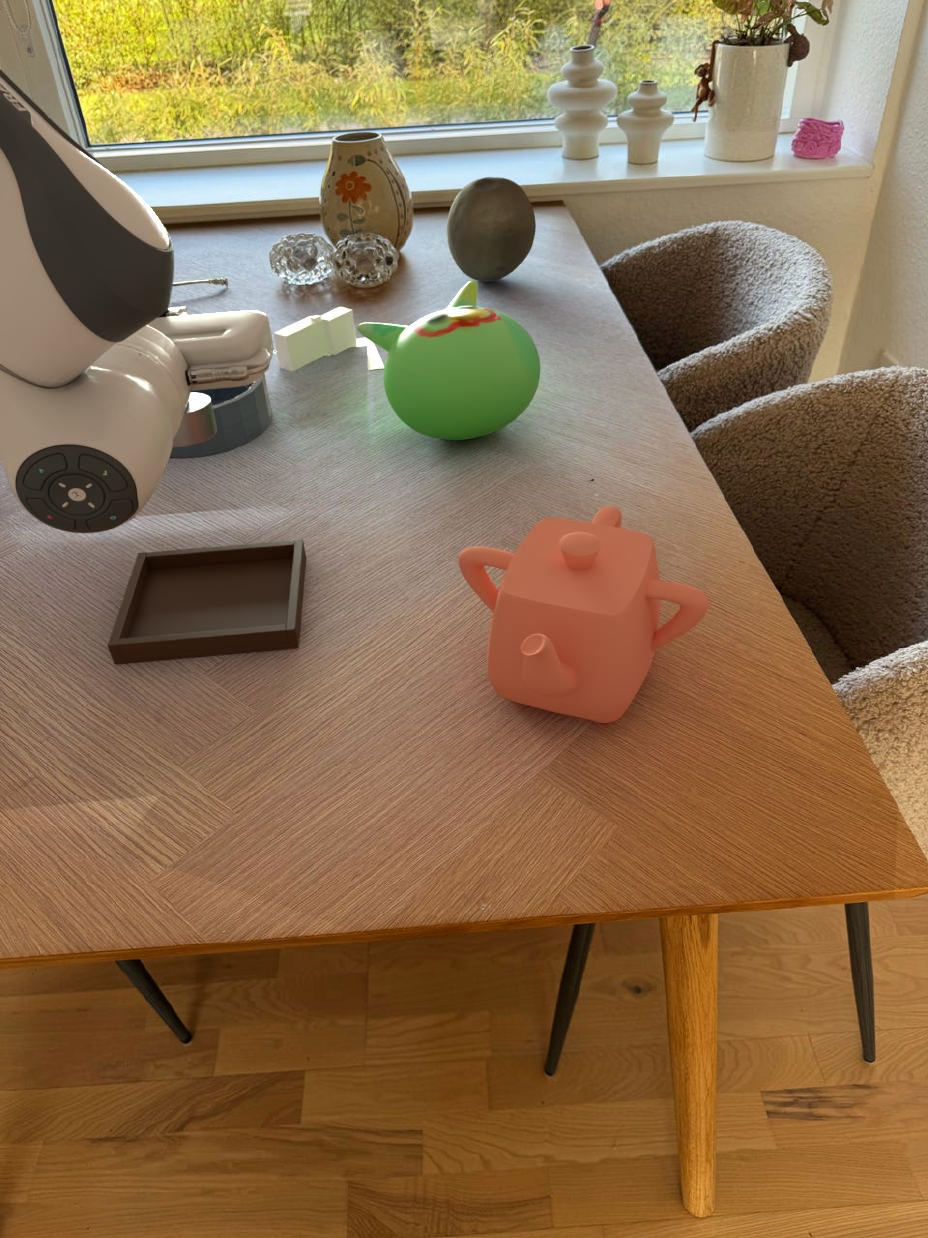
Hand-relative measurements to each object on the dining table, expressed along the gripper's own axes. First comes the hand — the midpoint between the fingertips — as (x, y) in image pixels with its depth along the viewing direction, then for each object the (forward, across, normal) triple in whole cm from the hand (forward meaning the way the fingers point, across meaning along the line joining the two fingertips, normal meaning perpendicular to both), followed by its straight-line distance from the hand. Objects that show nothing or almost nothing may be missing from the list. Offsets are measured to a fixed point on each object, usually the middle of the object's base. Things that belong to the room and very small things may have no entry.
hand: (159, 317), depth 80 cm
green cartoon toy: (+18, -27, +22) cm, 39 cm away
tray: (-12, -2, +22) cm, 26 cm away
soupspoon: (+70, +17, +22) cm, 76 cm away
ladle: (-2, 0, +10) cm, 10 cm away
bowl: (+24, +4, +22) cm, 32 cm away
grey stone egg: (+67, -36, +22) cm, 79 cm away
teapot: (-27, -32, +23) cm, 47 cm away
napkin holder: (+41, -10, +22) cm, 48 cm away
